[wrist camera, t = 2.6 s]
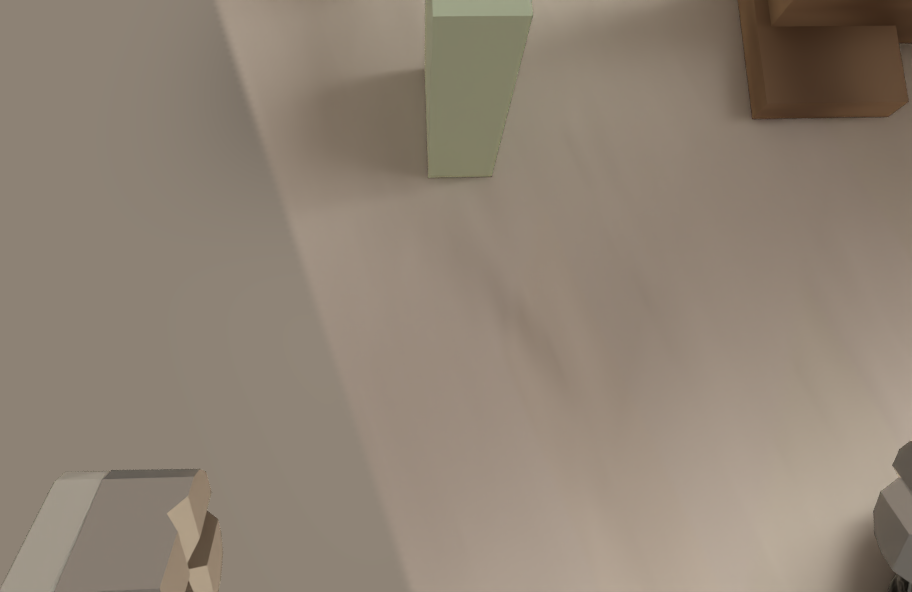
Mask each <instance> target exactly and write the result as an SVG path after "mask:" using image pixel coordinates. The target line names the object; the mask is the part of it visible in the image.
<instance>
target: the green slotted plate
mask: <svg viewBox="0 0 912 592" xmlns="http://www.w3.org/2000/svg"><path fill="white" fill-rule="evenodd" d="M532 17H533V12H532V0H425V97H426V128H427V160H428V178H440V177H492V173H493V169H494V166H495V162H496V158H497V154H498V150H499V146H500V142H501V138H502V134H503V130H504V126H505V122H506V118H507V115H508V111H509V107H510V103H511V99H512V95H513V91H514V87H515V83H516V79H517V75H518V71H519V68H520V64H521V60H522V56H523V52H524V48H525V44H526V40H527V36H528V32H529V28H530V24H531V21H532Z"/></svg>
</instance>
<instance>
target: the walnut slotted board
mask: <svg viewBox="0 0 912 592" xmlns="http://www.w3.org/2000/svg"><path fill="white" fill-rule="evenodd" d="M738 5H739V13H740V21H741V30H742V38H743V46H744V54H745V62H746V70H747V79H748V87H749V95H750V103H751V111H752V119H775V118H838V117H888V116H890V115H891V114H893V113H894V112H895V111H897V110H898V109H899V108H901V107H902V106H904V105H905V104H906V103H908V102H909V101H908V95H907V89H906V83H905V77H904V71H903V65H902V59H901V53H900V47H899V43H912V0H738Z"/></svg>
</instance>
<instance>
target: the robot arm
mask: <svg viewBox="0 0 912 592" xmlns="http://www.w3.org/2000/svg"><path fill="white" fill-rule="evenodd" d="M892 466H893V467H894V469H895V471H896V473H897V475H898V477H899V478H898V479H896V480H895V481H894V482H893V483H891V484H890V485H889V486H887V487H886V488H885V489H883V490H882V491H881V492H880V495H879V497H878V500H877V503H876V506H875V508H874V511H873V516H874V533H875V537H876V539H877V542H878V545H879V548H880V551H881V553H882V555H883V556H884V558H885V560H886V561H887V563H888V565H889V566H890V568H891V570H892V571H894V572H895V573H897V574H898V575H900V576H901V577H902V578H904V579H905V580H907V581H908V582H910V583H911V584H912V441H910V442H908V443H907V444H906V445H904V446H903V447H902V448H901V449H899V451H898V454H897V456H896V458H895V460H894V462H893V465H892ZM210 497H211V488H210V484H209V481H208V477H207V474H206V471H203V470H201V469H173V470H172V469H164V470H111V471H90V472H89V471H84V472H65V473H64V474H62V475H61V476H60V477H59V478H58V479H57V480H56V481H55V482H54V483H53V485H52V487H51V489H50V491H49V492H48V494H47V497H46V498H45V501H44V502H43V504H42V507H41V508H40V511H39V512H38V514H37V516H36V518H35V520H34V522H33V524H32V526H31V528H30V530H29V532H28V534H27V536H26V538H25V540H24V542H23V544H22V546H21V548H20V550H19V552H18V554H17V556H16V558H15V560H14V562H13V564H12V566H11V568H10V570H9V572H8V574H7V576H6V578H5V580H4V582H3V584H2V586H1V588H0V592H218V591H219V586H220V581H221V571H222V558H223V548H222V535H221V530H220V525H219V521H218V519H217V518H216V517H215V516H213V515H212V514H211V513H210V512H208V511H207V508H208V505H209V501H210Z"/></svg>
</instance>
